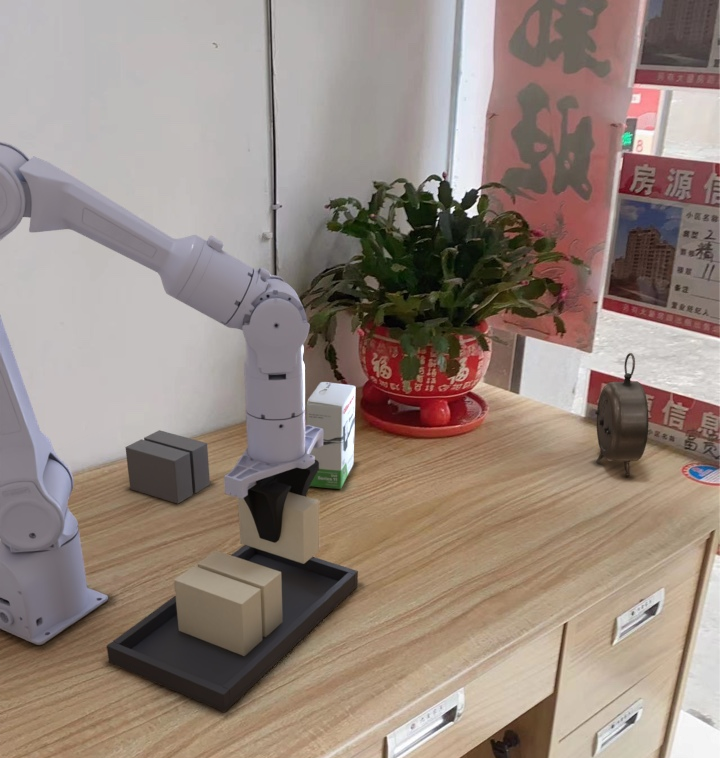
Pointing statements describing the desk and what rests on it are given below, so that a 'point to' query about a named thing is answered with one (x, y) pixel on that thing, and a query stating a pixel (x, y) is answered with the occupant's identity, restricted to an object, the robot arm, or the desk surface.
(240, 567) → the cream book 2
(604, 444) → the alarm clock
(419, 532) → the desk surface
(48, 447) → the robot arm
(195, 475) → the gray rectangular block
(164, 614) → the tray
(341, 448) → the ink box
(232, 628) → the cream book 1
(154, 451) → the gray rectangular block
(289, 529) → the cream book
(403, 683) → the desk surface
